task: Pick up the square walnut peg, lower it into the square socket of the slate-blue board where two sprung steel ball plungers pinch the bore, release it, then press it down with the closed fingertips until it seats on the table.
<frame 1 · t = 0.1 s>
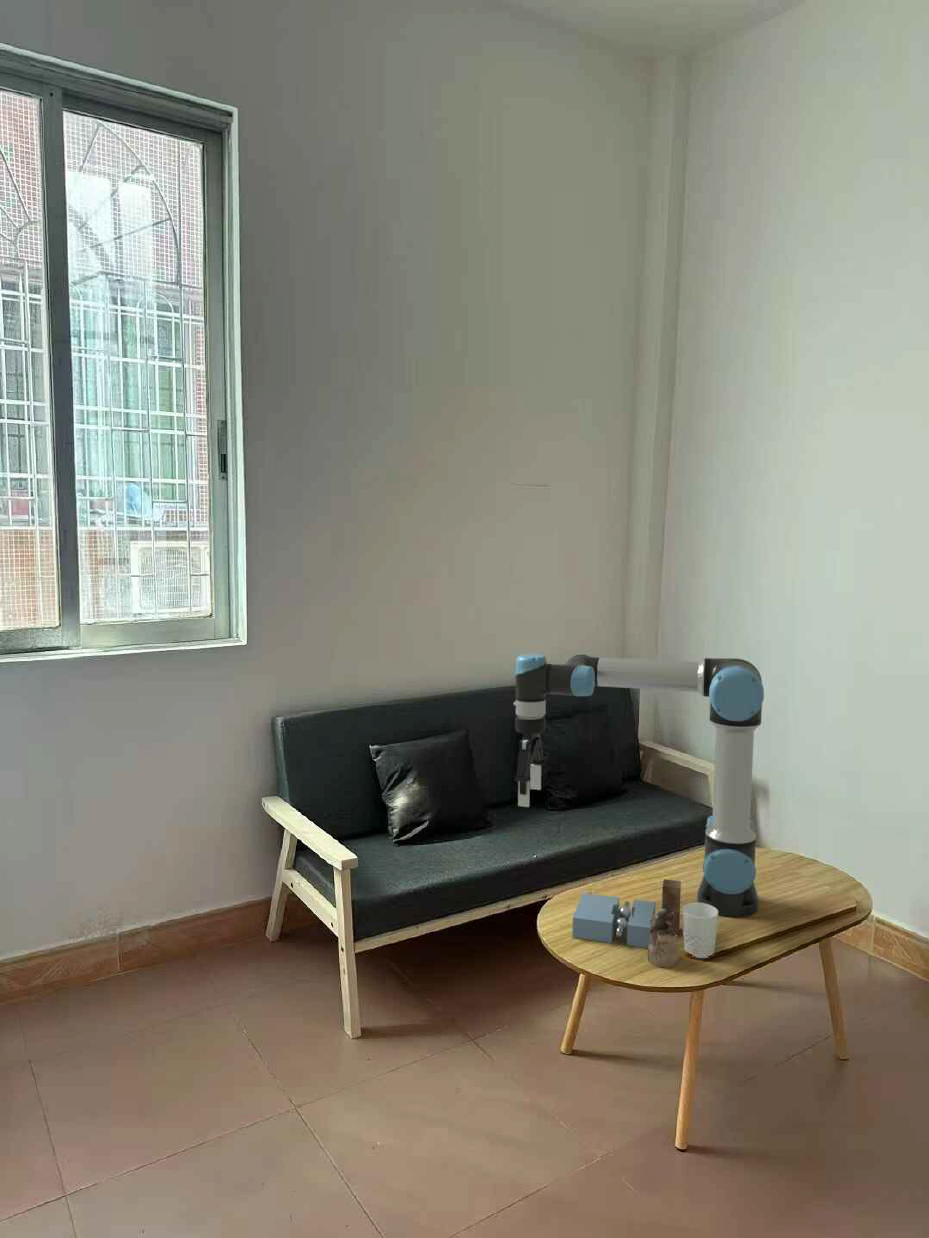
hand: (529, 797, 226), 28 cm above the table, fingers open, 13 cm apart
socket board: (614, 929, 215), on the table
peg: (670, 930, 214), on the table
figurine: (662, 960, 201), on the table
white cup: (699, 951, 205), on the table
plunger 2: (625, 909, 219), point 3 cm above the table, slide at 0.0 cm
plunger 1: (620, 927, 210), point 3 cm above the table, slide at 0.0 cm
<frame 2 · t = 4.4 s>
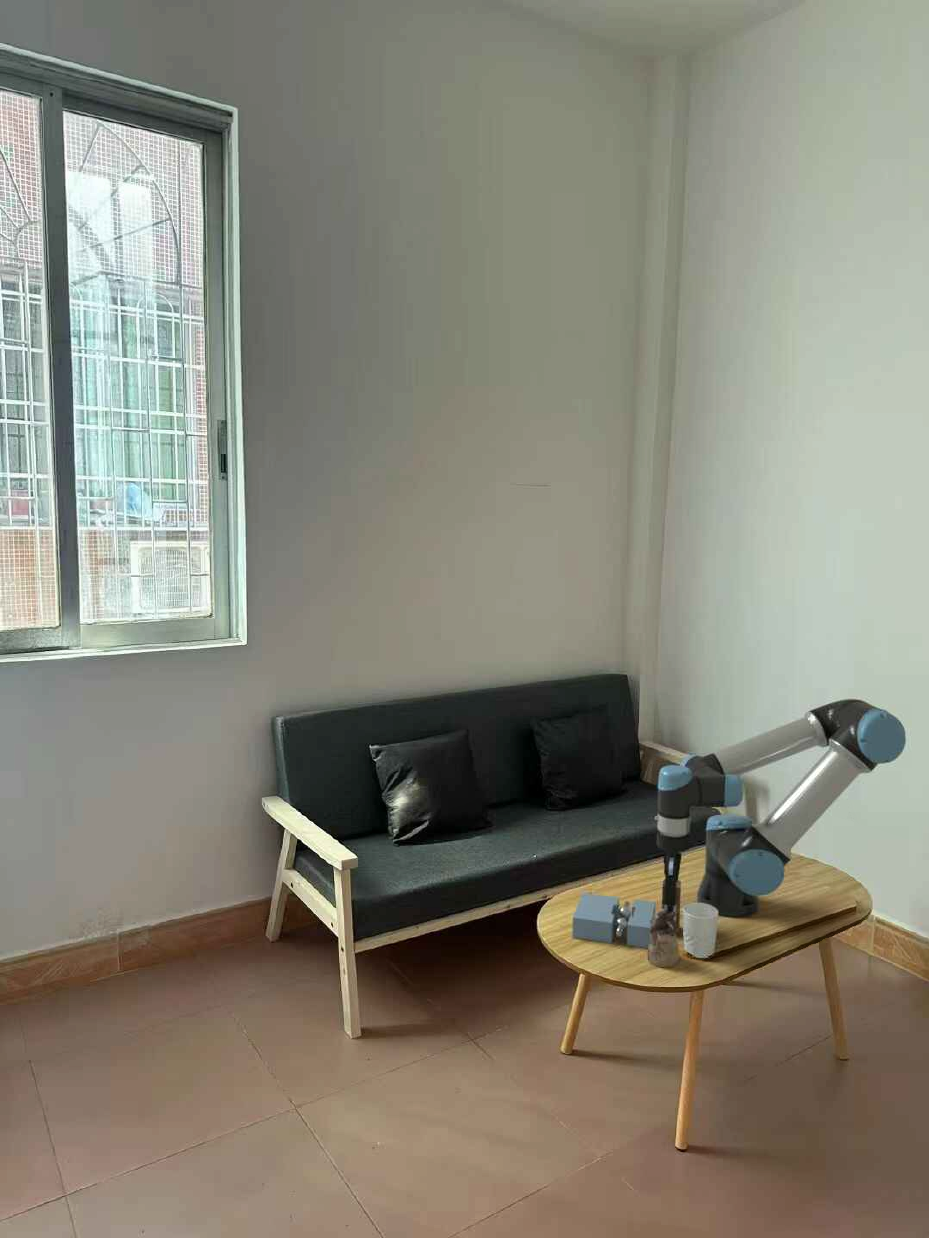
hand: (670, 924, 214), 2 cm above the table, fingers closed on peg, 4 cm apart
peg: (670, 930, 214), on the table, touching gripper
everything else where it was.
when the fingers open (6 cm above the table, at t = 8.9 s): peg drops 4 cm, on the table.
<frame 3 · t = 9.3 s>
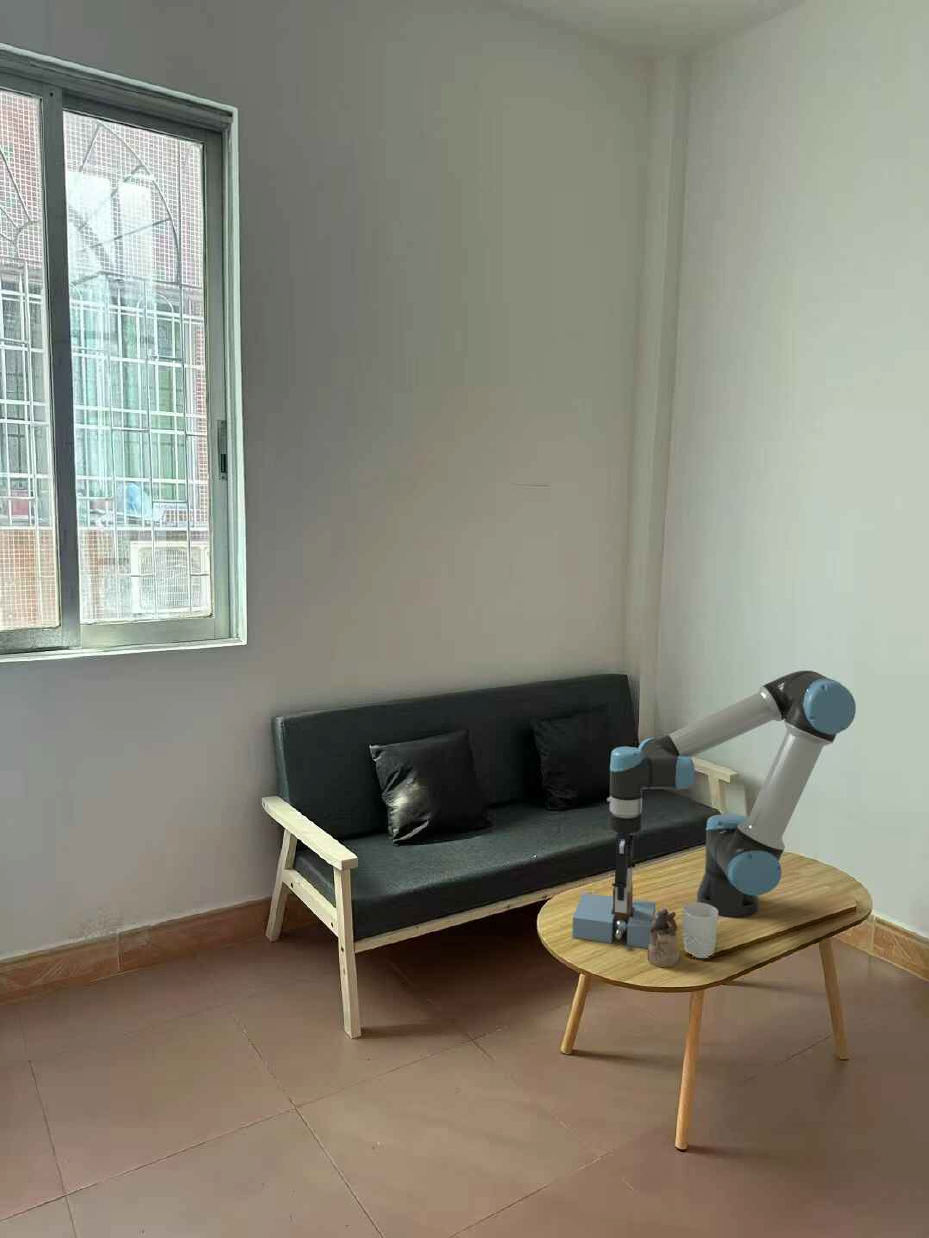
hand: (623, 902, 214), 7 cm above the table, fingers open, 9 cm apart
peg: (623, 928, 215), on the table, tilted 12°
plunger 2: (625, 908, 219), point 3 cm above the table, slide at 0.7 cm
plunger 1: (620, 929, 209), point 3 cm above the table, slide at 1.0 cm
everything else where it was.
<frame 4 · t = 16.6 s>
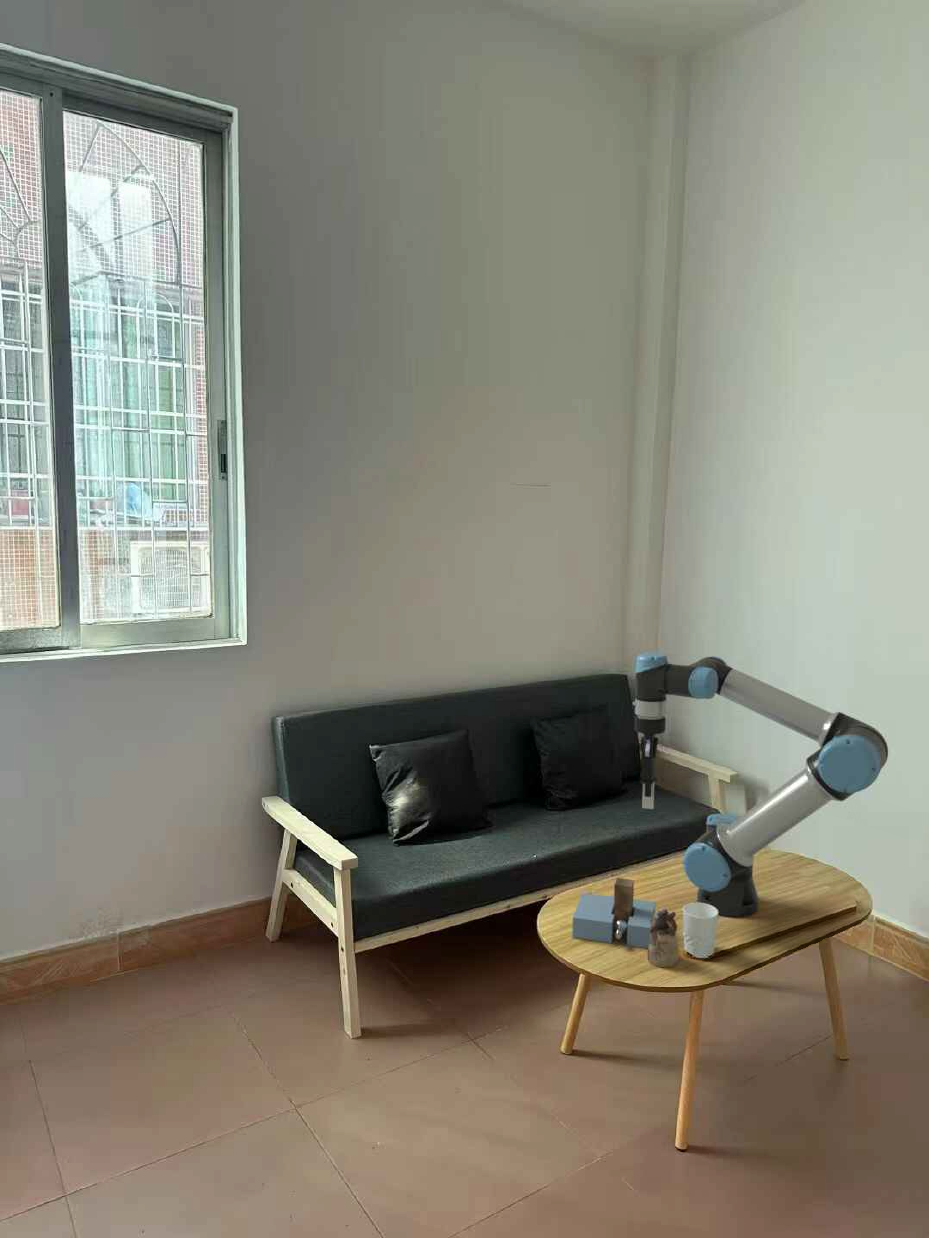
hand: (647, 807, 223), 26 cm above the table, fingers closed
peg: (623, 929, 215), on the table
everything else where it was.
at the end: peg 0.4 cm from the target spot, on the table; peg tilted 0°; the gripper is holding nothing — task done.
